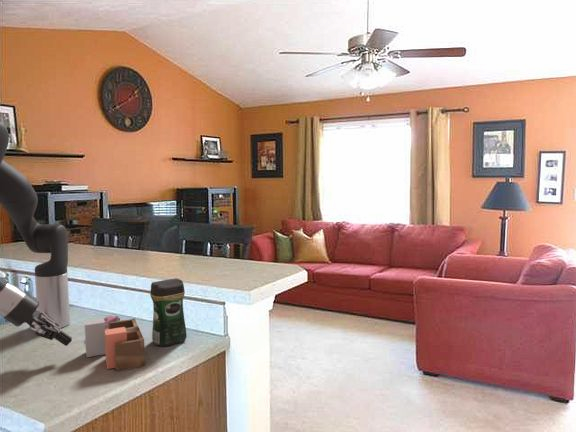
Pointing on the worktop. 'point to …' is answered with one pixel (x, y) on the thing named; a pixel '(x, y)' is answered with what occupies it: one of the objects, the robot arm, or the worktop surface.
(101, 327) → the light grey block
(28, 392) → the worktop surface
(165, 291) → the coffee jar
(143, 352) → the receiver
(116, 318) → the video game controller
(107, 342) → the salmon orange block
